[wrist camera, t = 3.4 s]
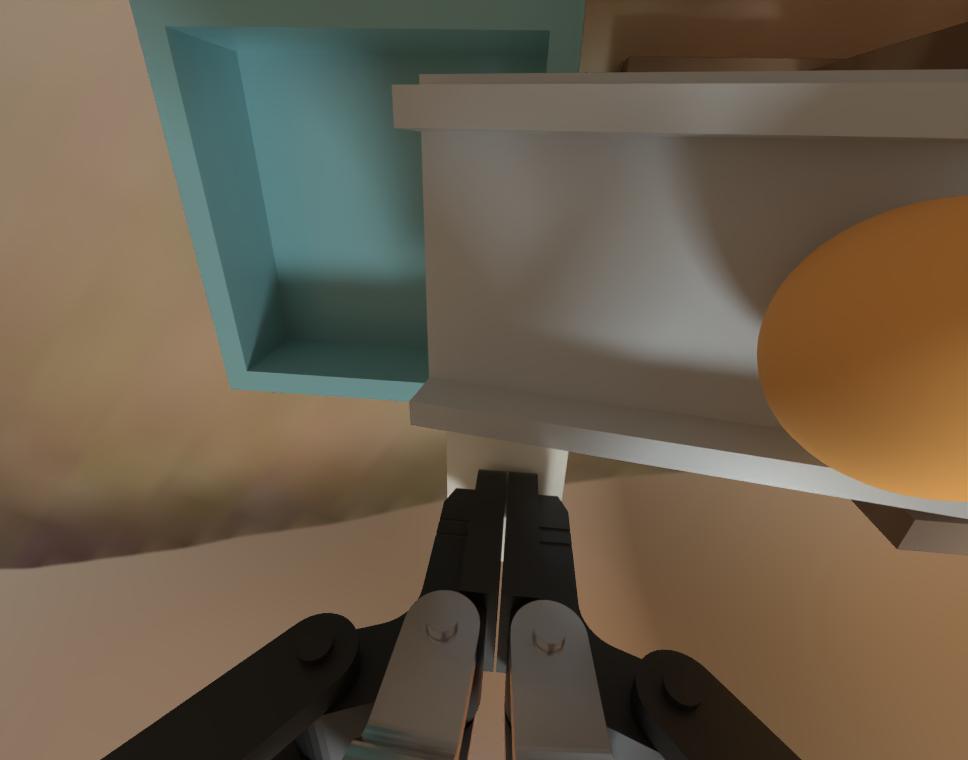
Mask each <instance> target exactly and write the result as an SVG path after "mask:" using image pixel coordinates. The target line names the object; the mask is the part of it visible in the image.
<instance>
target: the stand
mask: <svg viewBox="0 0 968 760" xmlns="http://www.w3.org/2000/svg"><path fill="white" fill-rule="evenodd" d="M946 69H968V22H966V23H963V24H960V25H956V26H953V27H950V28H947V29H943V30H940V31H937V32H933V33H930V34H927V35H924V36H920V37H917V38H914V39H910V40H907V41H904V42H901V43H897V44H894V45H891V46H887V47H884V48H881V49H878V50H874V51H871V52H868V53H864V54H861V55H858V56H855V57H851V58H848V59H791V58H723V57H654V56H629V57H628V58H627V59H626V60H625V61H624V62H623V68H622V72H722V71H834V70H946ZM851 500H852V499H851ZM852 501H853V502H854V503H855V505H856V506H857V507H858V508H859V509H860V510H861V511H862V512H863V513H864V514H865V515H866V516H867V517H868V518H869V520H870V521H871V522H872V523H873V524H874V525H875V526H876V527H877V528H878V529H879V530H880V531H881V532H882V534H883V535H884V536H885V537H886V538H887V539H888V540H889V541H890V542H891V543H892V544H893V545H894V546H895V547H896V549H901V550H913V551H923V552H936V553H946V554H959V555H968V519H964V518H959V517H953V516H947V515H941V514H935V513H929V512H923V511H917V510H911V509H905V508H899V507H894V506H888V505H882V504H876V503H870V502H864V501H858V500H852Z"/></svg>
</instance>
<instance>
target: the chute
mask: <svg viewBox="0 0 968 760" xmlns="http://www.w3.org/2000/svg"><path fill="white" fill-rule="evenodd" d="M419 84H420V85H392V102H393V119H394V128H398V129H406V130H413V131H420V132H421V145H422V176H423V207H424V238H425V269H426V300H427V331H428V362H429V378H428V380H427V381H426V382H425V383H424V384H423V386H422V387H421V388H420V389H419V390H418V392H417V393H416V394H415V395H414V396H413V398H412V399H411V400H410V401H409V404H410V421H411V425H416V426H422V427H427V428H433V429H439V430H445V431H447V498H448V497H449V496H450V494H451V493H452V492H453V491H454V490H455V489H456V488H462V489H474V490H475V487H476V481H477V475H478V470H479V469H483V470H495V471H507V477H506V493H505V509H504V525H503V540H502V554H501V561H502V562H503V558H504V543H505V527H506V512H507V497H508V481H509V472H522V473H535V474H538V495H549V496H558V497H559V499H560V500H561V502H562V495H563V488H564V481H565V473H566V466H567V459H568V452H575V453H581V454H587V455H593V456H599V457H604V458H610V459H616V460H622V461H628V462H634V463H640V464H646V465H652V466H658V467H663V468H669V469H675V470H681V471H687V472H693V473H700V474H705V475H711V476H717V477H722V478H728V479H735V480H741V481H746V482H752V483H758V484H764V485H770V486H776V487H781V488H788V489H794V490H799V491H805V492H811V493H818V494H824V495H829V496H835V497H841V498H847V499H852V500H858V501H864V502H870V503H876V504H882V505H888V506H894V507H899V508H905V509H911V510H917V511H923V512H929V513H935V514H941V515H947V516H953V517H959V518H964V519H968V502H954V501H941V500H929V499H923V498H916V497H910V496H905V495H901V494H897V493H893V492H888V491H885V490H882V489H879V488H876V487H873V486H870V485H867V484H864V483H862V482H860V481H858V480H855V479H853V478H851V477H849V476H846V475H844V474H842V473H840V472H838V471H836V470H834V469H833V468H831V467H829V466H827V465H826V464H824V463H822V462H821V461H820V460H818V459H817V458H816V457H814V456H813V455H811V454H810V453H809V452H807V451H806V450H805V449H804V448H803V447H802V446H801V445H800V444H799V443H798V442H797V441H795V440H794V439H793V438H792V437H791V436H790V435H789V434H788V432H787V431H786V430H785V429H784V428H783V426H782V425H781V424H780V423H779V421H778V420H777V418H776V416H775V415H774V413H773V411H772V410H771V408H770V406H769V404H768V402H767V400H766V398H765V395H764V393H763V390H762V387H761V383H760V379H759V375H758V365H757V344H758V336H759V332H760V328H761V324H762V321H763V319H764V316H765V314H766V311H767V309H768V307H769V304H770V302H771V300H772V299H773V297H774V295H775V294H776V292H777V290H778V288H779V287H780V286H781V285H782V283H783V282H784V281H785V279H786V278H787V277H788V275H789V274H790V273H791V272H792V271H793V270H794V269H795V268H796V267H797V266H798V265H799V264H800V263H801V262H802V261H803V260H804V259H805V258H806V257H807V256H809V255H810V254H811V253H812V252H813V251H815V250H816V249H817V248H818V247H820V246H821V245H822V244H824V243H825V242H827V241H828V240H830V239H831V238H833V237H835V236H836V235H838V234H839V233H841V232H843V231H844V230H846V229H848V228H850V227H852V226H854V225H856V224H858V223H860V222H862V221H864V220H867V219H869V218H872V217H874V216H876V215H879V214H881V213H884V212H886V211H890V210H893V209H896V208H900V207H903V206H906V205H910V204H913V203H918V202H923V201H928V200H933V199H938V198H945V197H955V196H965V195H968V69H946V70H834V71H722V72H611V73H499V74H419Z"/></svg>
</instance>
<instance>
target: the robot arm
mask: <svg viewBox="0 0 968 760" xmlns="http://www.w3.org/2000/svg"><path fill="white" fill-rule="evenodd" d="M506 477H507V471H495V470H483V469H479V470H478V475H477V481H476V487H475V490H474V489H462V488H456V489H455V490H454V491H453V492H452V493H451V494H450V496H449V497H448V498H447V499H446V500H445V501H444V505H443V509H442V513H441V517H440V522H439V525H438V529H437V535H436V537H435V541H434V545H433V549H432V553H431V557H430V561H429V565H428V569H427V573H426V577H425V581H424V585H423V589H422V592H421V595H420V596H419V598H418V600H417V601H415V603H414V604H413V605H412V606H411V607H410V609H409V610H408V611H407V612H406V613H405V614H403V615H402V616H400V617H398V618H397V619H394V620H392V621H390V622H386V623H383V624H378V625H374V626H369V627H365V628H360V629H355V627H354V625H353V624H352V623H351V622H350V621H349V620H348V619H347V618H345V617H344V616H341V615H338V614H333V613H322V614H317V615H314V616H310V617H308V618H306V619H304V620H302V621H300V622H299V623H297V624H296V625H294V626H293V627H291V628H290V629H288V630H287V631H286V632H284V633H283V634H281V635H280V636H278V637H277V638H276V639H274V640H273V641H271V642H270V643H268V644H267V645H266V646H264V647H263V648H261V649H260V650H258V651H257V652H255V653H254V654H252V655H251V656H250V657H248V658H247V659H245V660H244V661H243V662H241V663H239V664H238V665H237V666H235V667H234V668H232V669H231V670H229V671H228V672H227V673H225V674H224V675H222V676H221V677H219V678H218V679H216V680H215V681H214V682H212V683H211V684H209V685H208V686H206V687H205V688H203V689H202V690H201V691H199V692H198V693H196V694H195V695H193V696H192V697H190V698H189V699H188V700H186V701H185V702H183V703H182V704H180V705H179V706H177V707H176V708H175V709H173V710H172V711H170V712H169V713H167V714H166V715H164V716H163V717H162V718H160V719H159V720H157V721H156V722H154V723H153V724H152V725H150V726H149V727H147V728H146V729H144V730H143V731H141V732H140V733H139V734H137V735H136V736H134V737H133V738H131V739H130V740H128V741H127V742H126V743H124V744H123V745H121V746H120V747H118V748H117V749H116V750H114V751H113V752H111V753H110V754H108V755H107V756H105V757H104V758H102V759H101V760H469V759H470V753H471V746H472V741H473V734H474V728H475V722H476V716H477V711H478V707H479V705H480V700H481V689H482V679H483V671H490V672H493V666H494V652H495V638H496V624H497V610H498V596H499V581H500V567H501V554H502V540H503V525H504V509H505V493H506ZM571 545H572V543H571V534H570V525H569V516H568V511H567V510H566V508H565V507H564V505H563V503H562V502H561V500H560V499H559V497H558V496H549V495H538V474H535V473H522V472H509V481H508V497H507V512H506V527H505V543H504V558H503V575H502V589H501V605H500V620H499V636H498V651H497V667H496V672H502V673H506V681H505V703H504V716H503V730H504V760H801V759H800V758H799V757H798V756H797V755H796V754H795V753H794V752H793V751H792V750H791V749H790V748H789V747H788V746H786V745H785V744H784V743H783V742H782V741H781V740H780V739H779V738H778V737H777V736H776V735H775V734H774V733H773V732H772V731H771V730H770V729H769V728H768V727H767V726H766V725H764V724H763V723H762V722H761V721H760V720H759V719H758V718H757V717H756V716H755V715H754V714H753V713H752V712H751V711H750V710H749V709H748V708H747V707H746V706H745V705H743V704H742V703H741V702H740V701H739V700H738V699H737V698H736V697H735V696H734V695H733V694H732V693H731V692H730V691H729V690H728V689H727V688H726V687H725V686H724V685H722V684H721V683H720V682H719V681H718V680H717V679H716V678H715V677H714V676H713V675H712V674H711V673H710V672H709V671H708V670H707V669H706V668H704V667H703V666H702V665H701V664H700V663H698V662H697V661H695V660H694V659H693V658H691V657H689V656H687V655H685V654H682V653H679V652H676V651H672V650H657V651H654V652H651V653H649V654H647V655H646V656H645V657H644V658H643V659H640V658H638V657H636V656H633V655H631V654H628V653H626V652H624V651H622V650H619V649H617V648H614V647H612V646H611V645H609V644H607V643H605V642H604V641H602V640H601V639H600V638H599V637H597V636H596V635H595V634H594V633H593V632H592V631H591V630H590V629H589V627H588V626H587V625H586V623H585V621H584V620H583V618H582V616H581V613H580V610H579V606H578V598H577V589H576V580H575V571H574V561H573V553H572V547H571Z"/></svg>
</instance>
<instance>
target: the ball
mask: <svg viewBox="0 0 968 760" xmlns="http://www.w3.org/2000/svg"><path fill="white" fill-rule="evenodd" d="M757 365H758V375H759V379H760V383H761V387H762V390H763V393H764V395H765V398H766V400H767V402H768V404H769V406H770V408H771V410H772V411H773V413H774V415H775V416H776V418H777V420H778V421H779V423H780V424H781V425H782V426H783V428H784V429H785V430H786V431H787V432H788V434H789V435H790V436H791V437H792V438H793V439H794V440H795V441H797V442H798V443H799V444H800V445H801V446H802V447H803V448H804V449H805V450H806V451H807V452H809V453H810V454H811V455H813V456H814V457H816V458H817V459H818V460H820V461H821V462H822V463H824V464H826V465H827V466H829V467H831V468H833V469H834V470H836V471H838V472H840V473H842V474H844V475H846V476H849V477H851V478H853V479H855V480H858V481H860V482H862V483H864V484H867V485H870V486H873V487H876V488H879V489H882V490H885V491H888V492H893V493H897V494H901V495H905V496H910V497H916V498H923V499H929V500H941V501H954V502H968V195H965V196H955V197H945V198H938V199H933V200H928V201H923V202H918V203H913V204H910V205H906V206H903V207H900V208H896V209H893V210H890V211H886V212H884V213H881V214H879V215H876V216H874V217H872V218H869V219H867V220H864V221H862V222H860V223H858V224H856V225H854V226H852V227H850V228H848V229H846V230H844V231H843V232H841V233H839V234H838V235H836V236H835V237H833V238H831V239H830V240H828V241H827V242H825V243H824V244H822V245H821V246H820V247H818V248H817V249H816V250H815V251H813V252H812V253H811V254H810V255H809V256H807V257H806V258H805V259H804V260H803V261H802V262H801V263H800V264H799V265H798V266H797V267H796V268H795V269H794V270H793V271H792V272H791V273H790V274H789V275H788V277H787V278H786V279H785V281H784V282H783V283H782V285H781V286H780V287H779V288H778V290H777V292H776V294H775V295H774V297H773V299H772V300H771V302H770V304H769V307H768V309H767V311H766V314H765V316H764V319H763V321H762V324H761V328H760V332H759V336H758V344H757Z"/></svg>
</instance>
